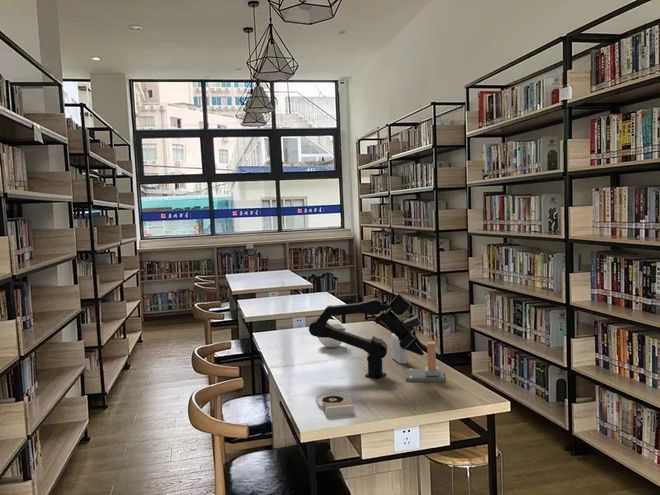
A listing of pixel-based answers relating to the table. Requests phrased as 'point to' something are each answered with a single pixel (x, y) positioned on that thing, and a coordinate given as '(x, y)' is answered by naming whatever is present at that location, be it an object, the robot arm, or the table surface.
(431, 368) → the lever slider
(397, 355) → the photo printer
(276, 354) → the table surface
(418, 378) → the track board
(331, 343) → the white piece
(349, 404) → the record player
